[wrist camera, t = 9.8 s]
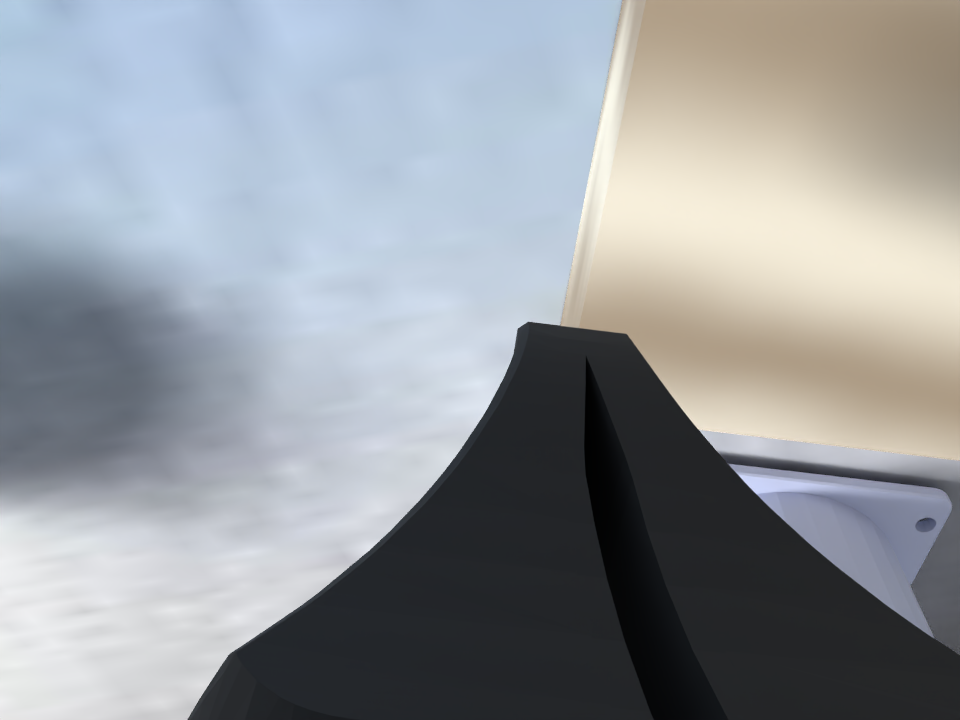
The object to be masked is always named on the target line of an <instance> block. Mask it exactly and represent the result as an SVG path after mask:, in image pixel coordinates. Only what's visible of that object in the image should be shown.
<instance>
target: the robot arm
mask: <svg viewBox="0 0 960 720" xmlns="http://www.w3.org/2000/svg"><path fill="white" fill-rule="evenodd" d="M952 507H953V506H952V503H951V501H950V499H949V497H948V495H947V494H946V493H945V492H944V491H943V490H941V489H937V488H931V487H922V486H914V485H905V484H897V483H888V482H880V481H871V480H863V479H854V478H846V477H837V476H829V475H820V474H812V473H803V472H795V471H786V470H778V469H769V468H761V467H752V466H744V465H735V464H728V463H727V462H726V461H725V460H724V459H723V458H722V457H721V456H720V455H719V453H718V452H717V451H716V450H715V449H714V448H713V446H712V445H711V444H710V443H709V442H708V441H707V439H706V438H705V437H704V436H703V435H702V434H701V432H700V431H699V430H698V429H697V427H696V426H695V425H694V424H693V422H692V421H691V420H690V419H689V417H688V416H687V415H686V414H685V412H684V411H683V410H682V409H681V407H680V406H679V405H678V403H677V402H676V401H675V399H674V398H673V397H672V395H671V394H670V393H669V391H668V390H667V389H666V387H665V386H664V384H663V383H662V382H661V380H660V379H659V378H658V376H657V375H656V373H655V372H654V371H653V369H652V368H651V366H650V365H649V364H648V362H647V361H646V360H645V358H644V357H643V355H642V354H641V353H640V351H639V350H638V348H637V347H636V346H635V344H634V343H633V342H632V340H631V339H630V338H629V336H628V335H627V334H624V333H616V332H608V331H599V330H591V329H583V328H575V327H566V326H558V325H550V324H542V323H533V322H527V323H526V324H524V325H523V326H521V327H520V328H518V330H517V337H516V343H515V349H514V355H513V357H512V360H511V363H510V365H509V367H508V370H507V372H506V374H505V377H504V379H503V381H502V383H501V384H500V386H499V388H498V390H497V392H496V394H495V396H494V398H493V400H492V401H491V403H490V405H489V407H488V409H487V410H486V412H485V414H484V415H483V417H482V419H481V420H480V422H479V423H478V425H477V426H476V428H475V429H474V431H473V432H472V434H471V435H470V437H469V438H468V440H467V441H466V443H465V444H464V446H463V447H462V449H461V450H460V451H459V453H458V454H457V456H456V457H455V458H454V459H453V461H452V462H451V463H450V465H449V466H448V467H447V469H446V470H445V471H444V472H443V474H442V475H441V476H440V477H439V479H438V480H437V481H436V482H435V483H434V484H433V486H432V487H431V488H430V489H429V490H428V492H427V493H426V494H425V495H424V496H423V497H422V498H421V500H420V501H419V502H418V503H417V504H416V505H415V506H414V507H413V508H412V509H411V510H410V511H409V512H408V513H407V514H406V515H405V516H404V517H403V518H402V519H401V520H400V521H399V523H398V524H397V525H396V526H395V527H394V528H393V529H392V530H391V531H390V532H389V533H388V534H387V535H386V536H385V537H383V538H382V539H381V540H380V541H379V542H378V543H377V544H376V545H375V546H374V547H373V548H372V549H371V550H370V551H368V552H367V553H366V554H365V555H364V556H362V557H361V558H360V559H359V560H358V561H356V562H355V563H354V564H353V565H352V566H350V567H349V568H348V569H347V570H346V571H344V572H343V573H342V574H341V575H339V576H338V577H337V578H336V579H335V580H333V581H332V582H331V583H330V584H329V585H327V586H326V587H325V588H324V589H323V590H321V591H320V592H319V593H318V594H316V595H315V596H314V597H312V598H311V599H310V600H308V601H307V602H306V603H304V604H303V605H302V606H300V607H299V608H297V609H296V610H294V611H293V612H291V613H290V614H288V615H287V616H285V617H284V618H283V619H281V620H280V621H278V622H277V623H275V624H274V625H272V626H271V627H269V628H268V629H266V630H265V631H263V632H262V633H260V634H259V635H257V636H256V637H255V638H253V639H252V640H250V641H249V642H247V643H246V644H244V645H243V646H241V647H240V648H238V649H237V650H235V651H233V652H232V653H230V654H229V655H228V657H227V658H226V660H225V661H224V663H223V664H222V666H221V667H220V669H219V670H218V672H217V673H216V675H215V676H214V678H213V679H212V681H211V682H210V684H209V686H208V687H207V689H206V690H205V692H204V693H203V695H202V696H201V698H200V699H199V701H198V703H197V705H196V706H195V708H194V710H193V711H192V713H191V715H190V716H189V718H188V720H960V655H958V654H957V653H955V652H954V651H952V650H951V649H949V648H948V647H946V646H945V645H943V644H942V643H940V642H939V641H937V640H936V639H935V638H934V636H933V634H932V632H931V629H930V627H929V625H928V623H927V621H926V619H925V616H924V614H923V612H922V610H921V608H920V606H919V604H918V601H917V599H916V597H915V595H914V593H913V591H912V589H911V584H912V582H913V581H914V579H915V577H916V575H917V573H918V571H919V570H920V568H921V566H922V564H923V562H924V560H925V559H926V557H927V555H928V553H929V551H930V550H931V548H932V546H933V544H934V542H935V540H936V539H937V537H938V535H939V533H940V531H941V530H942V528H943V526H944V524H945V522H946V520H947V519H948V517H949V515H950V513H951V511H952ZM923 518H928V519H926V520H924V521H921V522H918V521H919V520H921V519H923Z"/></svg>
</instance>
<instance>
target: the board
mask: <svg viewBox="0 0 960 720" xmlns="http://www.w3.org/2000/svg"><path fill="white" fill-rule="evenodd" d="M560 326H566V327H575V328H583V329H591V330H599V331H608V332H616V333H624V334H627V335H628V336H629V338H630V339H631V340H632V342H633V343H634V344H635V346H636V347H637V348H638V350H639V351H640V353H641V354H642V355H643V357H644V358H645V360H646V361H647V362H648V364H649V365H650V366H651V368H652V369H653V371H654V372H655V373H656V375H657V376H658V378H659V379H660V380H661V382H662V383H663V384H664V386H665V387H666V389H667V390H668V391H669V393H670V394H671V395H672V397H673V398H674V399H675V401H676V402H677V403H678V405H679V406H680V407H681V409H682V410H683V411H684V412H685V414H686V415H687V416H688V417H689V419H690V420H691V421H692V422H693V424H694V425H695V426H696V427H697V429H698V430H705V431H713V432H722V433H730V434H739V435H747V436H755V437H764V438H772V439H781V440H789V441H798V442H806V443H815V444H823V445H831V446H840V447H848V448H857V449H865V450H874V451H882V452H891V453H899V454H908V455H916V456H924V457H933V458H941V459H950V460H958V461H960V0H622V5H621V11H620V16H619V21H618V26H617V32H616V37H615V42H614V47H613V53H612V58H611V63H610V68H609V74H608V79H607V84H606V89H605V94H604V100H603V105H602V110H601V115H600V121H599V126H598V131H597V136H596V142H595V147H594V152H593V157H592V163H591V168H590V173H589V178H588V183H587V189H586V194H585V199H584V204H583V210H582V215H581V220H580V225H579V231H578V236H577V241H576V246H575V252H574V257H573V262H572V267H571V273H570V278H569V283H568V288H567V293H566V299H565V304H564V309H563V314H562V320H561V325H560Z"/></svg>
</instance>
